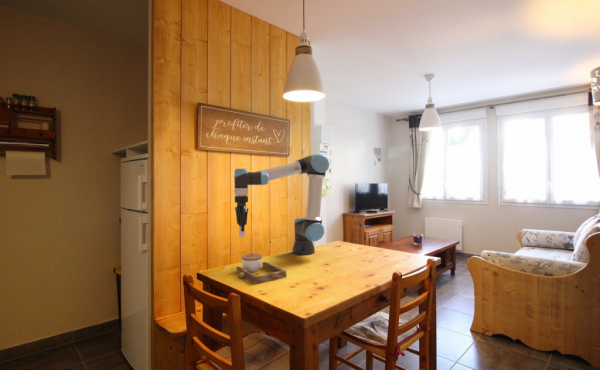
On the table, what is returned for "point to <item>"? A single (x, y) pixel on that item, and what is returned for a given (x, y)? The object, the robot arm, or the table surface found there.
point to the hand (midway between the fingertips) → (241, 236)
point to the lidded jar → (251, 262)
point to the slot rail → (262, 278)
